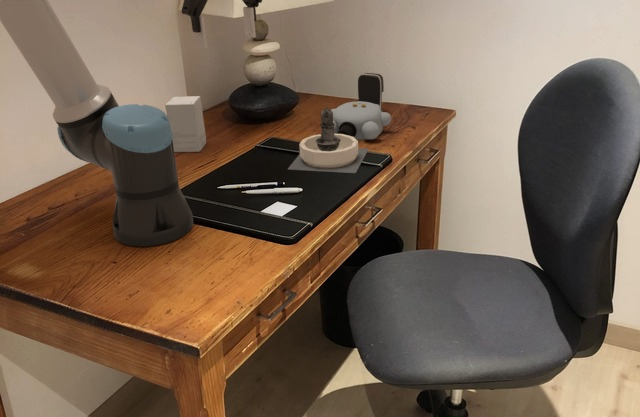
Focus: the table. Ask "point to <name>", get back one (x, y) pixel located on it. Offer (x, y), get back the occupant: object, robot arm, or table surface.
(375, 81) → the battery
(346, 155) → the bowl
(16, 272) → the table surface
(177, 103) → the supplement box
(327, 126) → the grey upright statuette
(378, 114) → the grey rounded piece
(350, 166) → the mat
